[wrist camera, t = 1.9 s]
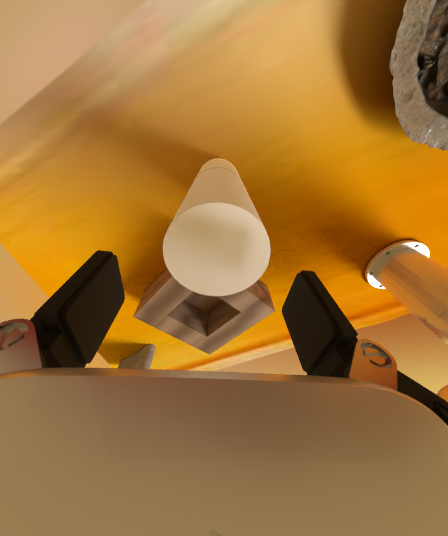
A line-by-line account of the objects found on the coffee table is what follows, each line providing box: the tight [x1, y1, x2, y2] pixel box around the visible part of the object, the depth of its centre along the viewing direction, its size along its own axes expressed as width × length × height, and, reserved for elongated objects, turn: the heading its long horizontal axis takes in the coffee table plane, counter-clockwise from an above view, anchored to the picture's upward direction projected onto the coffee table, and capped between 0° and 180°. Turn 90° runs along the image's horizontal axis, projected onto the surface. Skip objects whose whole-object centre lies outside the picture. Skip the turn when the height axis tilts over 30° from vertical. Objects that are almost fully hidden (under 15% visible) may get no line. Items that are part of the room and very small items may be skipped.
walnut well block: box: [133, 268, 275, 354], centre depth 44 cm, size 21×21×8 cm
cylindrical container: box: [163, 158, 271, 296], centre depth 23 cm, size 7×7×25 cm
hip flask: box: [118, 344, 156, 369], centre depth 54 cm, size 16×4×20 cm, turn 129°
